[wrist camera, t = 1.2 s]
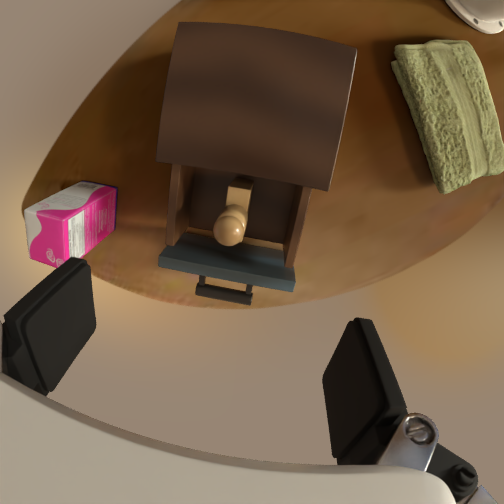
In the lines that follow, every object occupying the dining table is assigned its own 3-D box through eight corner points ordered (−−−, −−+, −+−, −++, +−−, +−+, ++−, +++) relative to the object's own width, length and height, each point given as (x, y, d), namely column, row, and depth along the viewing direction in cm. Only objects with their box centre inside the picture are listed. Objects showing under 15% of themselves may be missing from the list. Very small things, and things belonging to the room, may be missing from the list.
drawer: (282, 290, 36) (283, 324, 30) (175, 269, 36) (157, 299, 30) (313, 163, 29) (323, 174, 23) (188, 142, 29) (166, 147, 23)
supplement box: (81, 222, 35) (27, 259, 24) (82, 179, 32) (22, 205, 22) (116, 231, 35) (66, 273, 25) (119, 186, 33) (62, 216, 22)
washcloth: (462, 38, 21) (476, 34, 18) (499, 168, 27) (514, 173, 24) (380, 50, 24) (390, 44, 21) (427, 195, 30) (440, 202, 27)
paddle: (232, 177, 30) (214, 200, 21) (256, 181, 30) (248, 206, 21) (225, 222, 32) (206, 263, 23) (247, 226, 32) (237, 269, 23)
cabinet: (315, 174, 31) (328, 191, 23) (183, 151, 31) (155, 161, 23) (336, 66, 26) (357, 48, 18) (201, 44, 25) (178, 21, 18)
